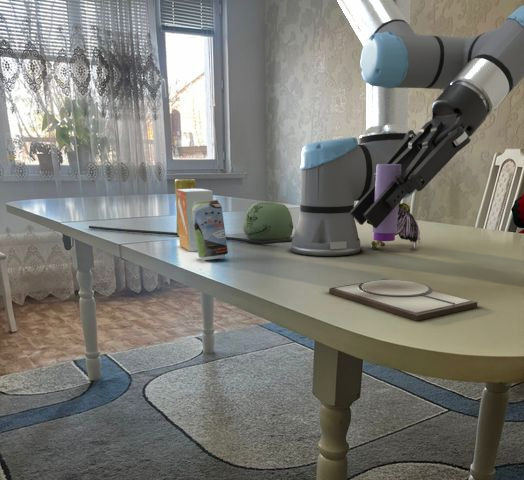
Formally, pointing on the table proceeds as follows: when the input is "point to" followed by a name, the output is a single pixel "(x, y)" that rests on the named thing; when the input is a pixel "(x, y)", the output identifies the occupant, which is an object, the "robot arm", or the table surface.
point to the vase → (183, 185)
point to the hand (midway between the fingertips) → (362, 219)
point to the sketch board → (404, 298)
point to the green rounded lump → (268, 222)
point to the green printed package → (209, 229)
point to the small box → (189, 215)
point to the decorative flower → (404, 227)
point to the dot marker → (383, 180)
